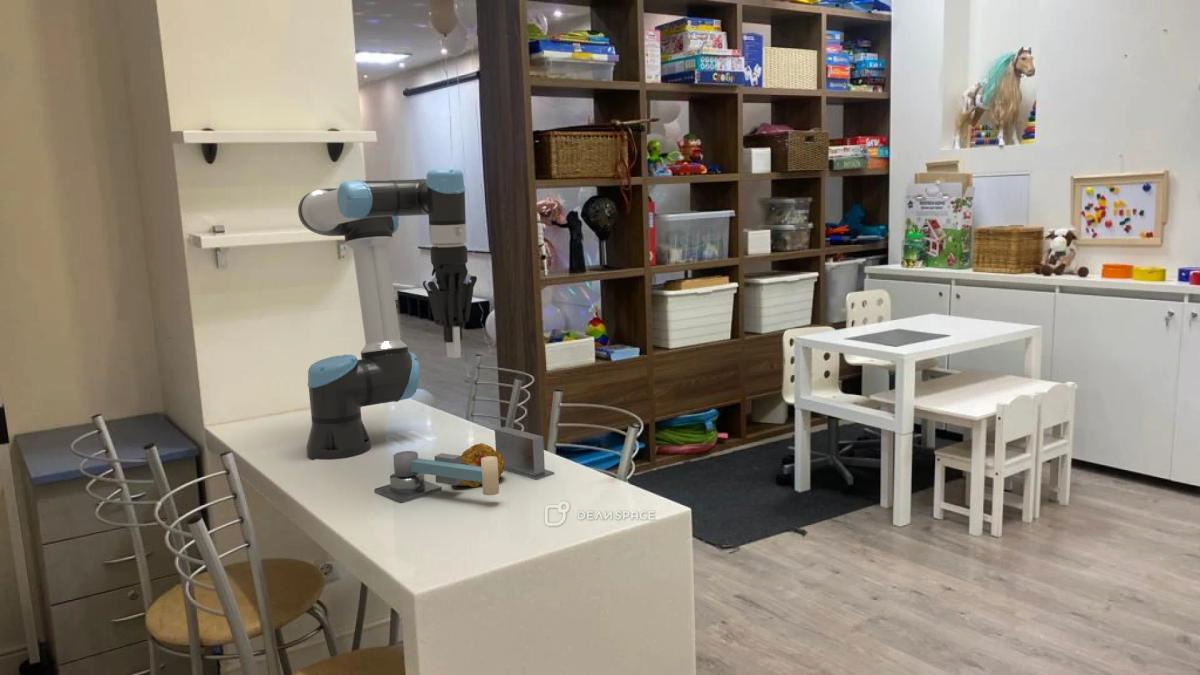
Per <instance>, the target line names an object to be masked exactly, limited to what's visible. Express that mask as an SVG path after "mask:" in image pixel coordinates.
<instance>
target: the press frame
mask: <svg viewBox="0 0 1200 675" xmlns="http://www.w3.org/2000/svg"><path fill="white" fill-rule="evenodd" d="M494 438H495V444H494V445H495V451H496V452H497V453H499V454H501V456H502V457H503V459H504V461H505V462H504V470H503V471H505V472H509V473H513V474H515V475H518V476H523V477H525V478H528V479H532V480H536V481H538V480H542V479H544V478H547V477H551V476H552V475H555V471H552V470H549V469H546V468H545V466H546V464H545V448H544V447H545V446H544V445H545V444H544V441H545V440H544V436H542V435H538V434H535V433H531V432H527V431H525V430H524V431H523V430H520V429H515V428H513V427H507V426H503V427H499V428H496V429H494ZM442 488H443V487H442V486H440V485H438V484H436V483H433V482H430V481H427V480H425V474H423V473H418V474H416V475H414V476H409V477H398V476H396V475H395V472H394V473H392V474H390V475H389V484H386V485H382V486H379V487H376V488H373V490H374V493H375V494H377V495H378V496H379V495H380V496H382V497H384V498H387V499H390V500H392V501H395V502H397V503H400V504H402V503H405V502H406V503H407V502H409V501H412V500H415V499H419V498H422V497H426V496H429V495H433V494H435V493H438V492H441V491H443V489H442Z"/></svg>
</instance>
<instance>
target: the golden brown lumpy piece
mask: <svg viewBox="0 0 1200 675" xmlns="http://www.w3.org/2000/svg"><path fill="white" fill-rule="evenodd" d="M460 456H461V462H462V464H463V465H471V466H478V467H481V458H483V457H487V456H495V457H497V460H498V479H500V478H501V476H502V474H503V472H504V471H505V470H504V462H505V461H504V459H503V457H502V456H501V454H499V453H497V452H496V449H494V448H493V447H492V446H490V445H488V444H486V443H483V442H480V443H477V444H474V445H472V446H470V447H469V448H468V449H466V450H464V451H463V452H462V454H461V455H460ZM480 485H482V482H477V481H471V480H464V479H463V482H462V483H460V484H458V485H452V486H453V487H457V486H460V487H461V486H463V487H466V486H470V487H471V488H472V487H473V488H475V487H479V486H480Z"/></svg>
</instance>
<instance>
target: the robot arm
mask: <svg viewBox="0 0 1200 675" xmlns="http://www.w3.org/2000/svg"><path fill="white" fill-rule="evenodd" d="M464 180H465V178H464V173H463V172H462V170H460V169H458V168H457V169H456V168H454V169H451V168H450V169H429V170H428V171H427V173H426V178H415V179H389V180H360V179H355V180H350V181H349V180H347V181H343V182H341V183H340V184H339V187H338V188H335V187H333V188H331V187H330V188H328V187H327V188H323V189H322V188H321V189H316V190H313V191H311V192H308V193H307V194H305V195H304V196H303V197H302V198H301V200H300V202H299V204H298V207H297V214H298V218H299V221H300V222H301V224H302V225H303V226H304V227H305V228H306V229H307V230H309V231H310V232H312V233H314V234H317V235H321V236H326V237H344V242H345V245H346V246H347V247H349V249H352V253H353V261H354V268H355V274H356V283H357V291H358V297H359V304H360V311H361V318H362V319H361V320H362V326H363V333H364V341H365V344H364V347H363V348H362V349H361V351H360V357H361V359H358V358H357V356H356V355H353V354H343V355H335V356H329V357H325V358H322V359H320V360H317V361H314V363H312V364H311V365H310V366H309V367H308V370H307V387H308V394H309V395H308V396H309V404H310V405H309V406H310V415H311V416H310V417H311V426H310V427H311V428H310V431H309V434H308V440H307V443H306V457H307V458H309V459H310V460H325V461H326V460H327V461H328V460H329V461H330V460H332V461H333V460H340V459H348V458H353V457H356V456H359V455H363V454H365V453H367V452H369V451H370V450H371V449H372V443H371V439H370V436H369V434H368V431H367V428H366V427H365V425H364V422H363V420H362V412H361V411H362V410H361V409H362V407H369V406H370V407H371V406H374V405H381V404H386V403H387V404H388V403H392V402H393V403H394V402H395V403H396V402H397V403H398V402H399V401H403V400H408V399H410V398H412V397H413V396H414V395H415V394H416V392H417V389H418V387H419V384H420V379H421V378H420V374H421V373H420V372H421V371H420V369H421V368H420V362H419V361H418V357H417V355H416V354H415V353H414V352H412V351H411V352H410V351H409V347H408V344H406V343H404V341H402V340H401V333H400V327H399V318H398V312H397V305H396V298H395V289H394V282H393V275H392V274H393V273H392V268H391V260H390V255H389V254H390V253H389V252H390V251H389V245H390V244H391V242H392V241H393V239H394V236H393V234H395V233H396V232H398V229H399V224H400V223H399V221H400V217H406V216H407V217H408V216H409V217H411V216H413V217H414V216H428V226H429V227H428V229H429V233H428V234H429V243H430V245H432V246H431V247H430V248H429V249H430V263H431V265H432V271H431V277H430V278H429V279H428V280H424V281H422V287H423V288H424V289H425V291H426V292H427V296H428V301H429V304H430V305H429V306H430V309H431V313H432V317H433V320H434V324H435V325H437V326H439V327H442V328H443V329H442V330H443V340H444V343H446V357H447V358H452V359H458V358H461V357H462V353H461V352H462V351H461V350H462V348H461V341H462V340H463V327H464V326H466V323H467V322H469V321H470V317H471V308H472V301H473V295H474V287H475V285H476V282H477V280H478V278H477V276H476V275H471V274H470V273H469V269H468V268H467V263H468V257H469V256H468V247H467V245H465V244H466V243H467V241H468V240H467V239H468V238H467V237H468V236H467V224H466V223H467V219H466V216H467V215H466V186H465V181H464Z"/></svg>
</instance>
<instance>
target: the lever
mask: <svg viewBox="0 0 1200 675" xmlns="http://www.w3.org/2000/svg"><path fill="white" fill-rule="evenodd" d="M392 456H393V457H392V458H393V468H394V471H393V472H394V473H395V475H396V476H398V477H409V476H414V475H416V474H418V473H423V474H424V475H431V476H435V484H436V483H437V484H443V485H444V484H445V485H451V486H453V485H457V486H459V485H458V484H460V483H462V482H463V479H464V480H471V481H477V482H482V484H481V485H482V494H483V495H484V496H495V495H499V493H500V482H499V479H500V478H499V479H498V460H497V457H495V456H487V457H483V458H481V467H478V466H471V465H463V464H462V462H461V455H459V454H451V453H444V452H440V453H439V454H437V455H435V456H433V457H434V460H432V459H428V458H427V459H426V458H421V457H419V453H418V452H417V451H414V450H406V451H405V450H404V451H399V452H396V453H394V454H393V455H392Z"/></svg>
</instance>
